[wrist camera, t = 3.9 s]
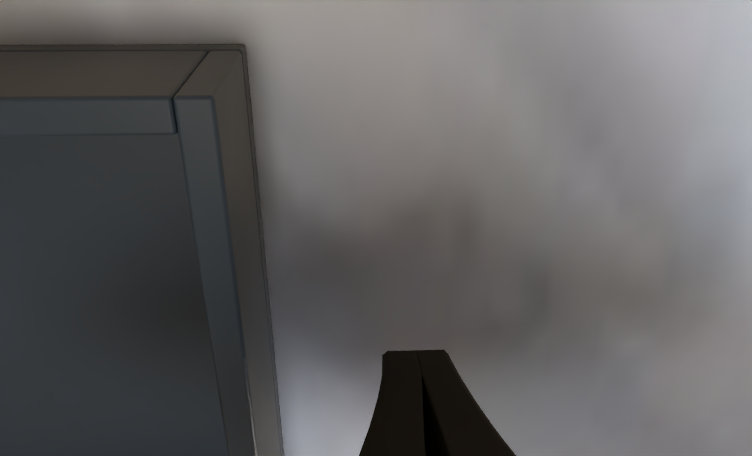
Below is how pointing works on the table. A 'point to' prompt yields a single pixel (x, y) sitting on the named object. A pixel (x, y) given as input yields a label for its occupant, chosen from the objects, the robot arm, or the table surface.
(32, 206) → the tray
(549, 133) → the table surface
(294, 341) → the table surface
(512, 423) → the table surface
